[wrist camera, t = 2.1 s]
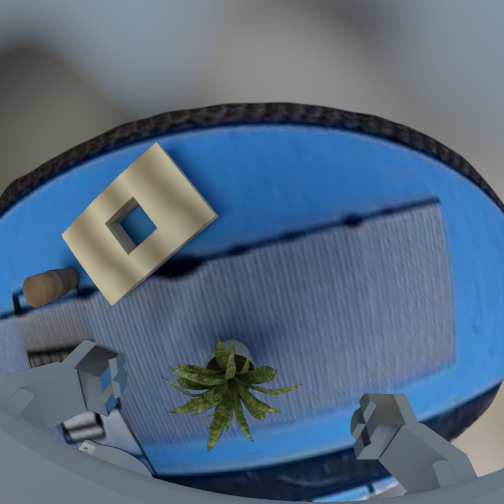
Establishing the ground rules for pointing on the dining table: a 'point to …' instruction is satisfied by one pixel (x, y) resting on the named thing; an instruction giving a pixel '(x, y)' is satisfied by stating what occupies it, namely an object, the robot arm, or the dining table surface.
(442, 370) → the dining table surface
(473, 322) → the dining table surface
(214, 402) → the house plant
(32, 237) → the dining table surface
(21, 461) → the robot arm
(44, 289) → the peg
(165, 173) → the seat block
